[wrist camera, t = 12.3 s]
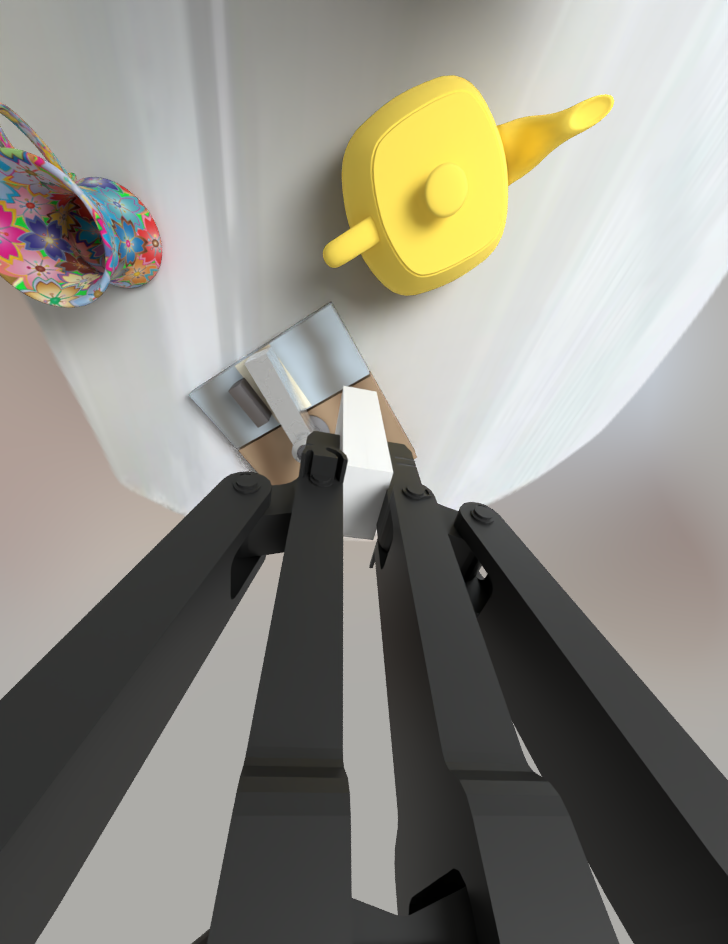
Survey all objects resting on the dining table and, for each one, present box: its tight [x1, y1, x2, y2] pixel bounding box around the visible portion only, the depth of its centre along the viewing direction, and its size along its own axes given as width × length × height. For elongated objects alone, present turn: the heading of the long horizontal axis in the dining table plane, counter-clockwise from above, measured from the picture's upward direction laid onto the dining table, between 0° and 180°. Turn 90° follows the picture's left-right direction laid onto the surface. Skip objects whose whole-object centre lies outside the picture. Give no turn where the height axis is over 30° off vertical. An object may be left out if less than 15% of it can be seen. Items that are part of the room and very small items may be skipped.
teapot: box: [323, 76, 614, 296], centre depth 28 cm, size 13×20×12 cm
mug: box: [0, 103, 162, 308], centre depth 29 cm, size 12×9×11 cm
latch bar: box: [244, 346, 321, 463], centre depth 39 cm, size 13×3×4 cm, turn 22°
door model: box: [189, 302, 417, 485], centre depth 43 cm, size 19×21×4 cm
